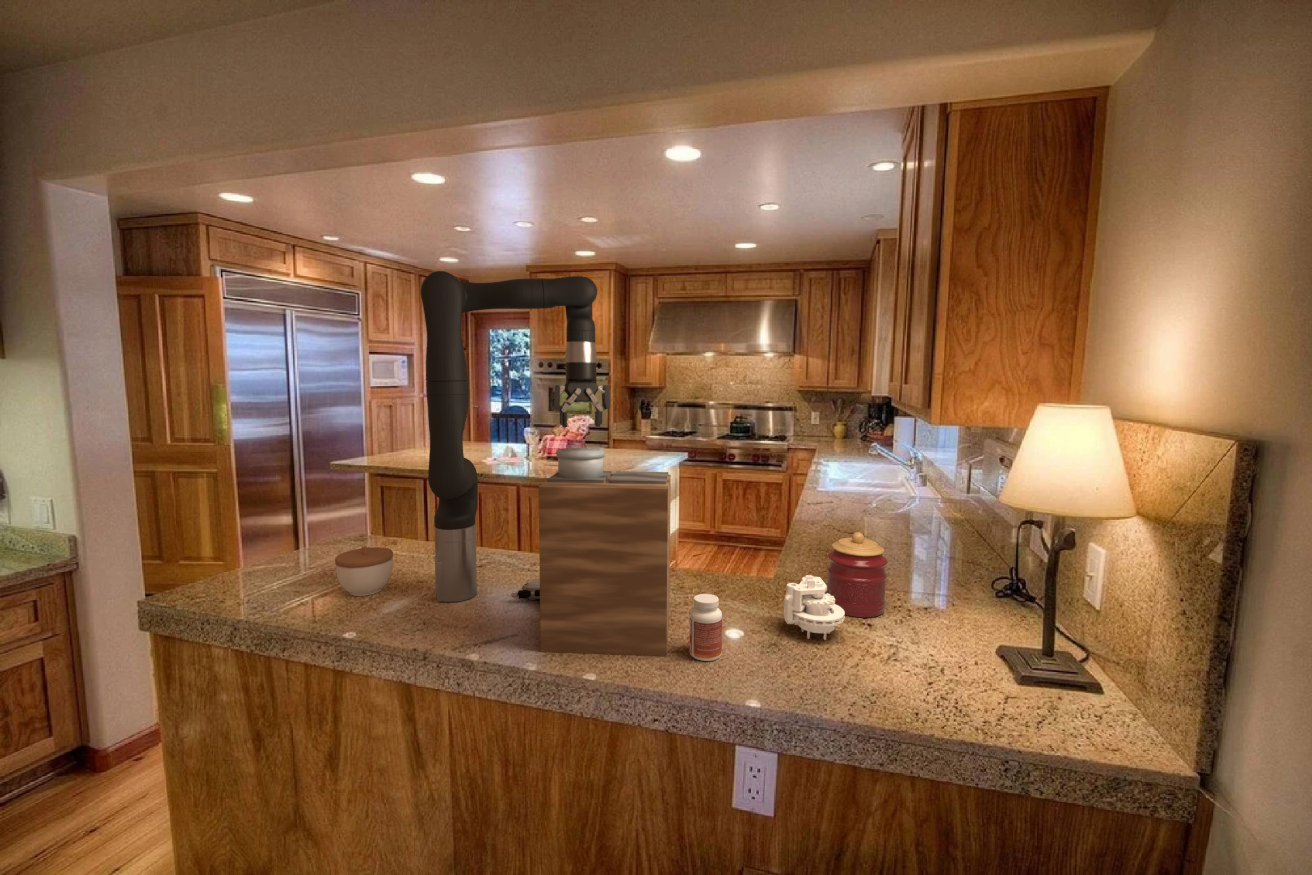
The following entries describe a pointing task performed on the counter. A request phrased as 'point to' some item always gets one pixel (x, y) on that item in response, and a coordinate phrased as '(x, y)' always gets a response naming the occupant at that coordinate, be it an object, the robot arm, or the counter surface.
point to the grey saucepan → (580, 462)
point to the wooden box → (605, 563)
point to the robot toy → (529, 590)
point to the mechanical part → (811, 606)
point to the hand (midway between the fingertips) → (581, 426)
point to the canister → (857, 576)
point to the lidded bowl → (364, 570)
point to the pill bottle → (705, 628)
